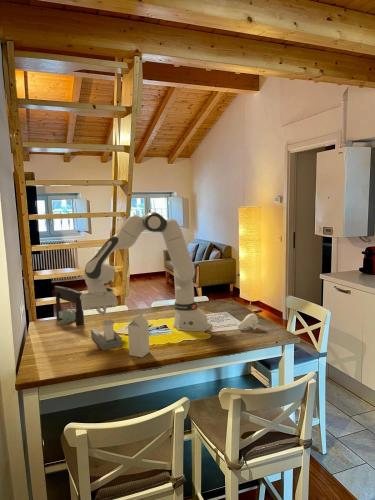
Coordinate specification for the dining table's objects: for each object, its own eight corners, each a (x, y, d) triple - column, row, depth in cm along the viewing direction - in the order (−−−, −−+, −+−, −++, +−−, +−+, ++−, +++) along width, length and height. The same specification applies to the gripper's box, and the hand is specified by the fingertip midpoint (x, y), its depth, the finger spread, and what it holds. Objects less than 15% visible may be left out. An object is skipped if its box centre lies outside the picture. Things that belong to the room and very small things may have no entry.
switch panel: (91, 336, 196) (90, 329, 196) (109, 333, 201) (108, 325, 200) (102, 350, 177) (102, 341, 177) (122, 346, 182) (121, 337, 181)
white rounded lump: (258, 314, 200) (240, 319, 196) (260, 328, 201) (241, 334, 197) (252, 311, 206) (234, 316, 202) (254, 325, 207) (236, 330, 203)
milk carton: (149, 352, 174) (148, 314, 171) (141, 357, 167) (140, 318, 165) (137, 349, 177) (135, 312, 174) (129, 355, 170) (127, 317, 168)
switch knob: (103, 338, 185) (102, 320, 183) (112, 336, 187) (111, 319, 186) (105, 341, 180) (104, 323, 179) (115, 339, 183) (114, 321, 182)
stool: (65, 282, 240) (93, 289, 218) (67, 313, 242) (95, 322, 221) (43, 287, 228) (70, 294, 206) (45, 318, 231) (72, 329, 209)
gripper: (81, 291, 190) (87, 314, 184) (115, 288, 203) (122, 310, 197) (77, 296, 194) (82, 319, 188) (111, 294, 207) (117, 315, 201)
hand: (103, 314), depth 193 cm, fingers closed
